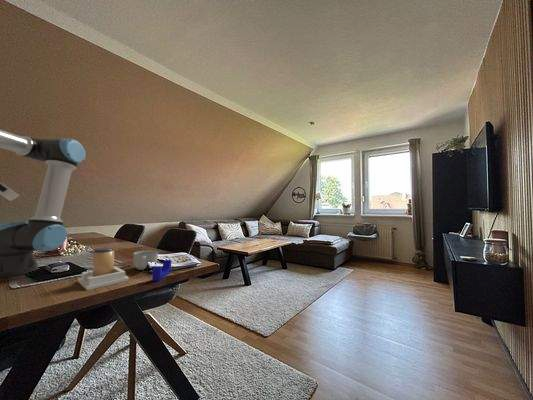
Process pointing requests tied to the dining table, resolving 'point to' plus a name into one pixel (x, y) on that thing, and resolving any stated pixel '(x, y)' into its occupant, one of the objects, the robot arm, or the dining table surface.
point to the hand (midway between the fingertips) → (14, 198)
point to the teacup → (144, 258)
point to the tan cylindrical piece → (103, 261)
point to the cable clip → (161, 270)
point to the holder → (102, 279)
